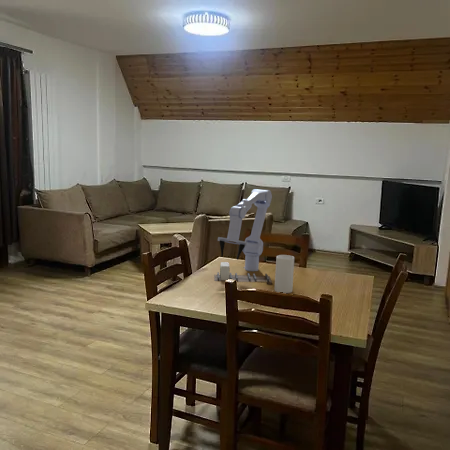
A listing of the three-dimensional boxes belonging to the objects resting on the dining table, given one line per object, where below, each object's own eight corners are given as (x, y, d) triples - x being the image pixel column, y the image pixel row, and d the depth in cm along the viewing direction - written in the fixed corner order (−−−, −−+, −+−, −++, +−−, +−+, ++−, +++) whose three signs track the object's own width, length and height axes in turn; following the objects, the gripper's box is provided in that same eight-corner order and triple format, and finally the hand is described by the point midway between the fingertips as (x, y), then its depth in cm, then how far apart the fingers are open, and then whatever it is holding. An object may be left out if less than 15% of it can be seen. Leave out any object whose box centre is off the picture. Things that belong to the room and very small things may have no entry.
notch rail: (214, 276, 230) (214, 271, 230) (269, 277, 231) (269, 273, 231) (214, 282, 219) (214, 277, 219) (272, 284, 220) (272, 279, 220)
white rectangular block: (219, 275, 229) (220, 262, 227) (228, 275, 229) (229, 262, 228) (220, 280, 221) (220, 266, 220) (229, 280, 221) (229, 266, 220)
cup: (291, 293, 207) (293, 259, 204) (273, 292, 208) (275, 258, 206) (292, 288, 215) (294, 255, 212) (275, 287, 216) (277, 254, 214)
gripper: (220, 227, 218) (215, 255, 217) (249, 233, 219) (245, 260, 218) (219, 228, 225) (214, 255, 224) (248, 233, 226) (243, 260, 225)
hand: (229, 258), depth 221 cm, fingers open, 7 cm apart
